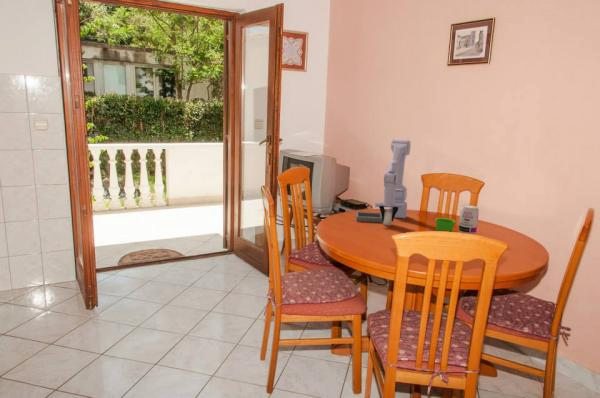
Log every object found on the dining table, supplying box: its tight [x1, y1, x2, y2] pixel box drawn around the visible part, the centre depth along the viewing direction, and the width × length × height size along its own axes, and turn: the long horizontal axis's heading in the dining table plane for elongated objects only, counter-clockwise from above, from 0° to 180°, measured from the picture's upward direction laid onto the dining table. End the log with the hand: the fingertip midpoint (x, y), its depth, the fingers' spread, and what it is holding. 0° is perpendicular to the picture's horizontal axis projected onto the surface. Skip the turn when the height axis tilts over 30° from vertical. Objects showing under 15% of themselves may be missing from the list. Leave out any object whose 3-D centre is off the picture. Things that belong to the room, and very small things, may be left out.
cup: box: [434, 217, 456, 233], centre depth 194 cm, size 9×9×11 cm
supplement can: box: [457, 204, 480, 235], centre depth 208 cm, size 8×8×15 cm
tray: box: [355, 211, 383, 224], centre depth 236 cm, size 14×12×2 cm
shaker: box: [382, 208, 393, 226], centre depth 226 cm, size 4×4×8 cm
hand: (387, 220), depth 226 cm, fingers closed on shaker, 4 cm apart
